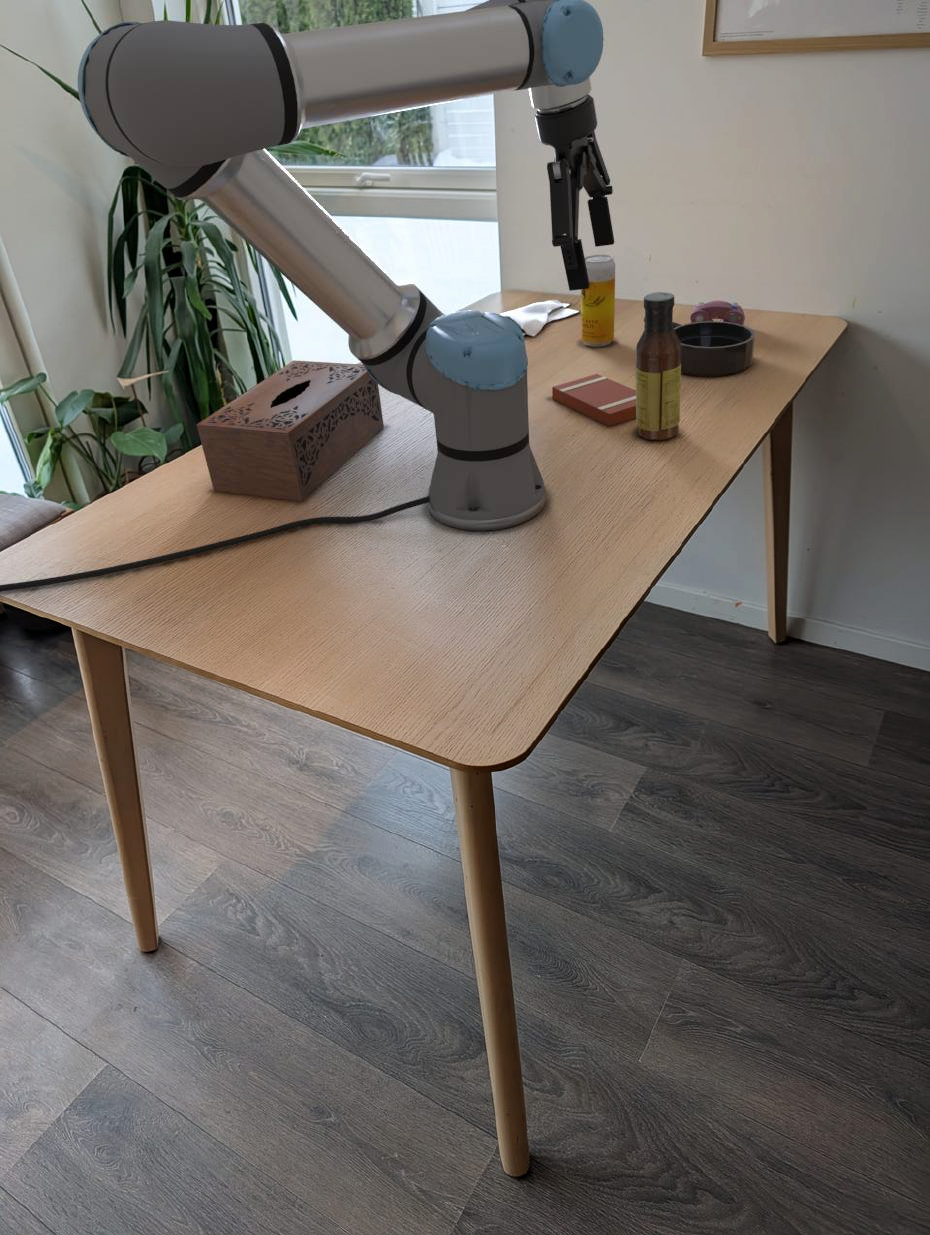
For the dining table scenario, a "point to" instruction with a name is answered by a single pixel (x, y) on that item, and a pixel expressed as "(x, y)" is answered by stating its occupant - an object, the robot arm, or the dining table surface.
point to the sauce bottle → (658, 371)
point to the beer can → (598, 301)
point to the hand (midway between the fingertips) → (592, 266)
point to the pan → (715, 348)
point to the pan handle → (673, 324)
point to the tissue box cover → (291, 430)
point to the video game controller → (718, 312)
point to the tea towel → (598, 398)
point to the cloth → (538, 315)
